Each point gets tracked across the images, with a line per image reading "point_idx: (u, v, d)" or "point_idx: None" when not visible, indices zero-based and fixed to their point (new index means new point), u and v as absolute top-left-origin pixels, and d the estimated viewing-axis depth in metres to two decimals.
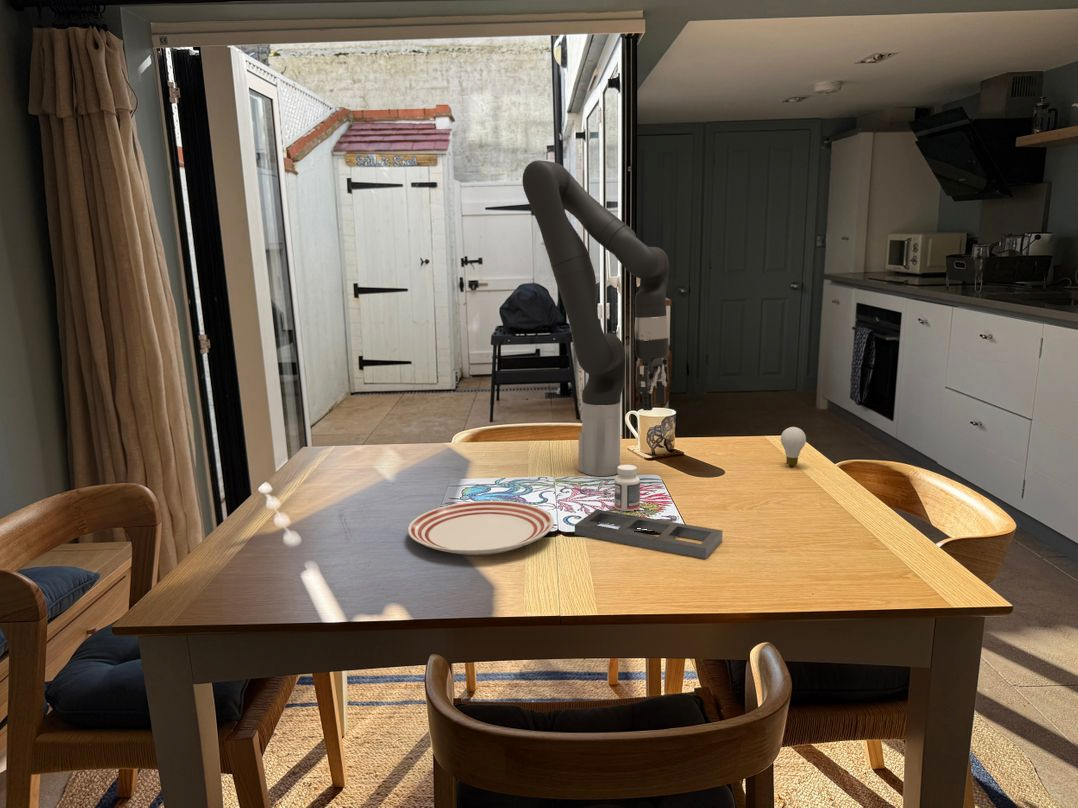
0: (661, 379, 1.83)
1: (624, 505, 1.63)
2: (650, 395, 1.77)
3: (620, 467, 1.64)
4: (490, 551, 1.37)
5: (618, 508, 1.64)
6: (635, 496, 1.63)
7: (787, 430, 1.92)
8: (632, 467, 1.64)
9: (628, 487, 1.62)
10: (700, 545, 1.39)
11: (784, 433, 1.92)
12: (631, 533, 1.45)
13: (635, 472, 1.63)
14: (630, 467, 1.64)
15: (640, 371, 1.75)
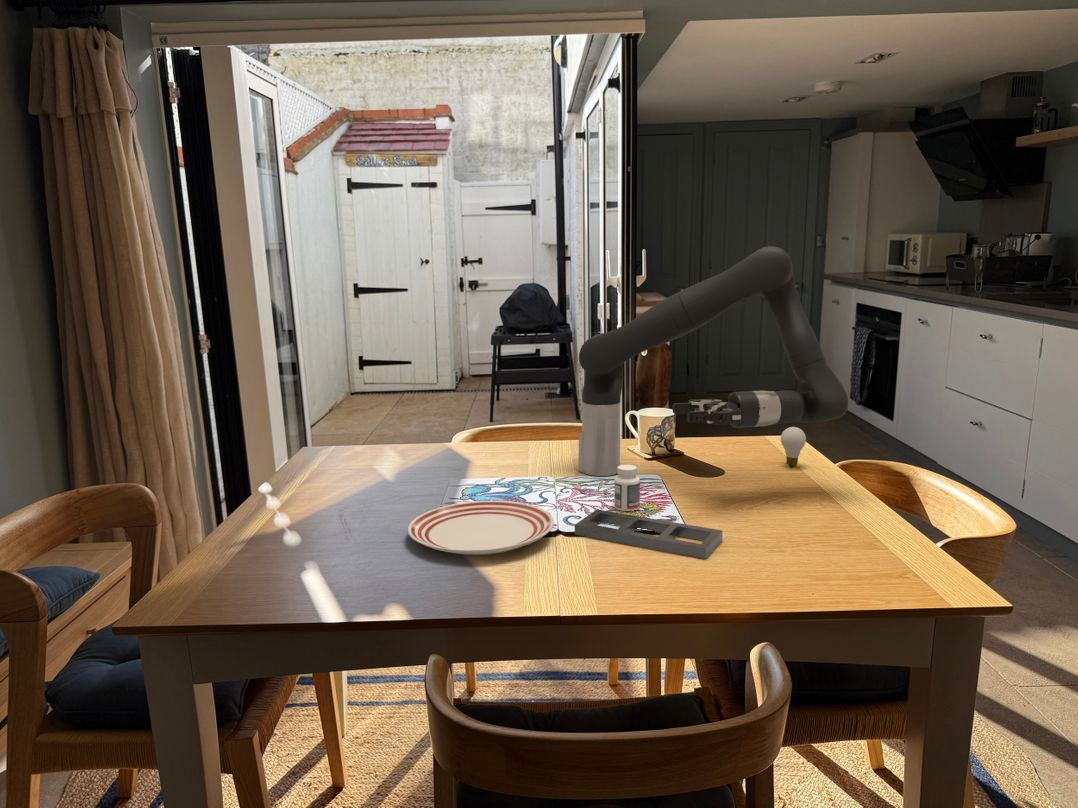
0: None
1: (624, 505, 1.63)
2: (704, 421, 1.60)
3: (620, 467, 1.64)
4: (490, 551, 1.37)
5: (618, 508, 1.64)
6: (635, 496, 1.63)
7: (787, 430, 1.92)
8: (632, 467, 1.64)
9: (628, 487, 1.62)
10: (700, 545, 1.39)
11: (784, 433, 1.92)
12: (631, 533, 1.45)
13: (635, 472, 1.63)
14: (630, 467, 1.64)
15: (736, 416, 1.59)
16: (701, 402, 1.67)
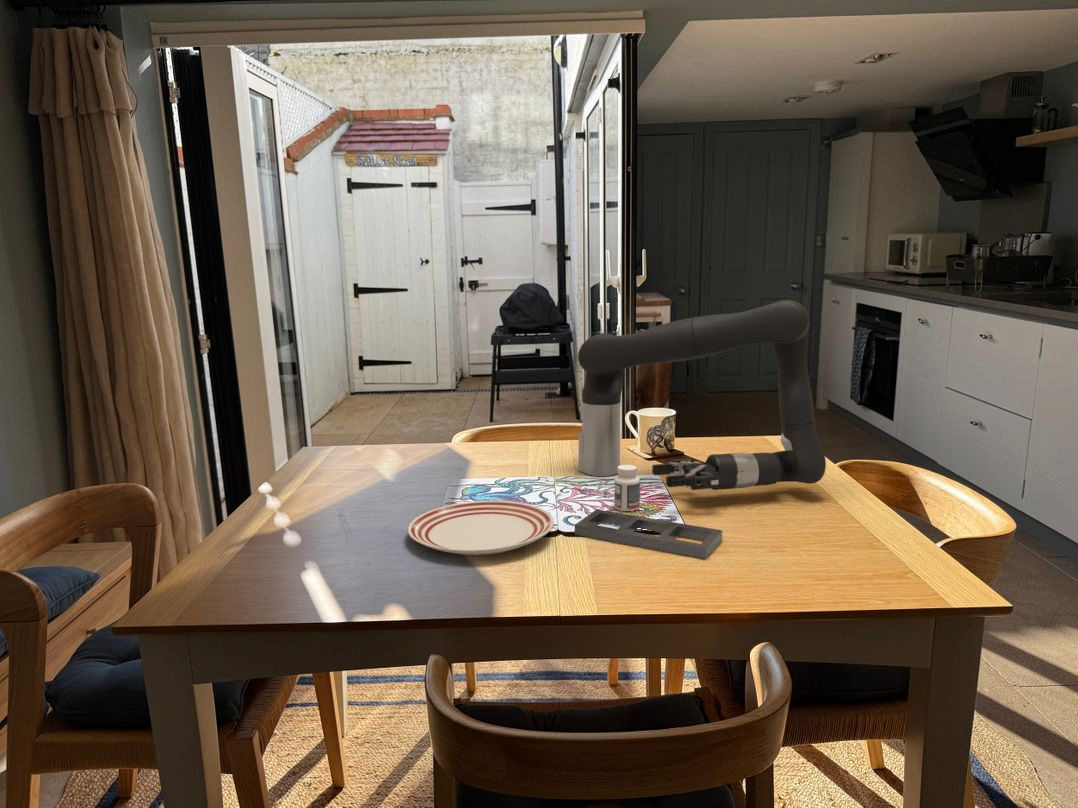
0: (681, 474, 1.70)
1: (624, 505, 1.63)
2: (682, 485, 1.62)
3: (620, 467, 1.64)
4: (490, 551, 1.37)
5: (618, 508, 1.64)
6: (635, 496, 1.63)
7: None
8: (632, 467, 1.64)
9: (628, 487, 1.62)
10: (700, 545, 1.39)
11: None
12: (631, 533, 1.45)
13: (635, 472, 1.63)
14: (630, 467, 1.64)
15: (714, 481, 1.61)
16: (680, 463, 1.69)
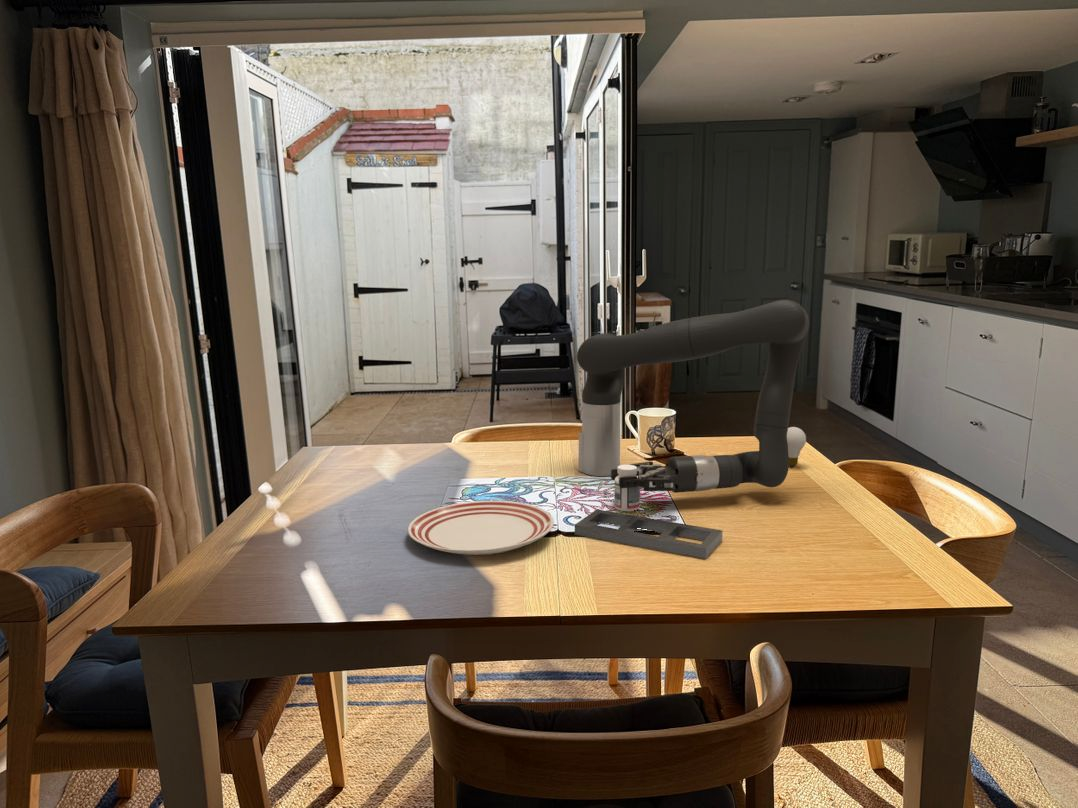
0: None
1: (624, 504, 1.63)
2: None
3: (620, 467, 1.64)
4: (490, 551, 1.37)
5: (618, 508, 1.64)
6: (635, 496, 1.63)
7: None
8: (632, 466, 1.64)
9: None
10: (700, 545, 1.39)
11: None
12: (631, 533, 1.45)
13: (635, 472, 1.63)
14: (630, 467, 1.64)
15: (667, 483, 1.59)
16: (640, 467, 1.67)
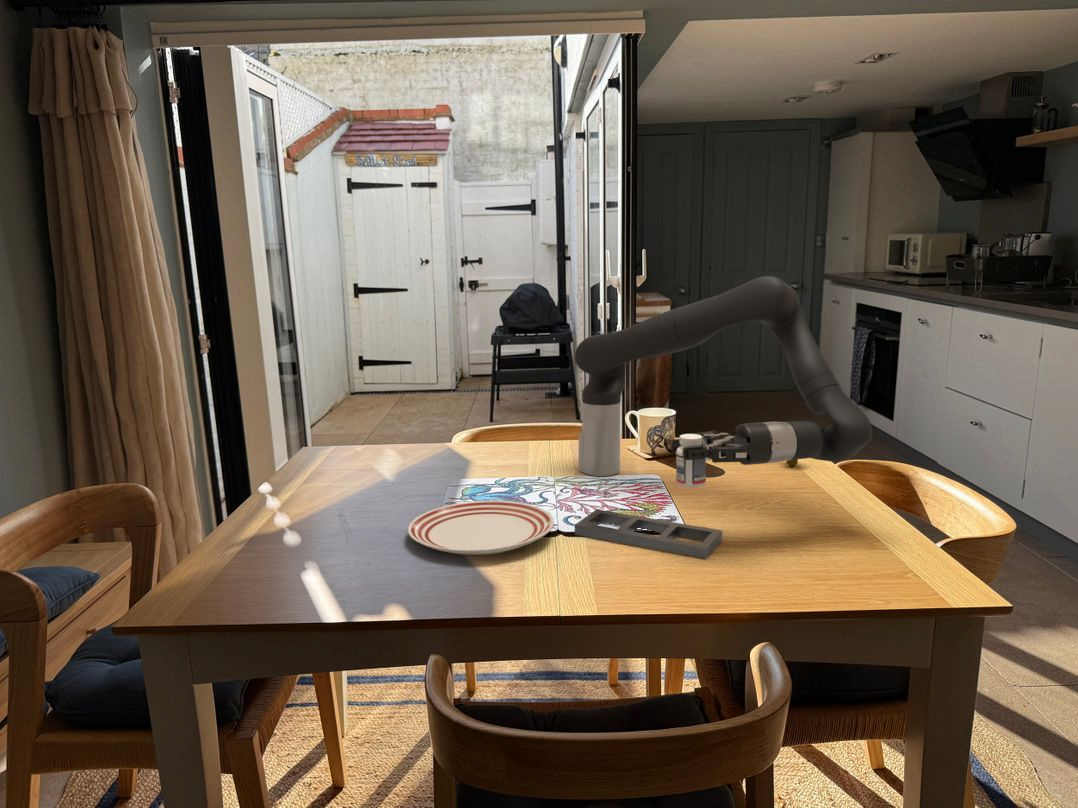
0: None
1: (689, 479, 1.41)
2: (702, 457, 1.40)
3: (683, 436, 1.42)
4: (490, 551, 1.37)
5: (681, 484, 1.42)
6: (701, 469, 1.41)
7: None
8: (697, 436, 1.42)
9: None
10: (700, 545, 1.39)
11: None
12: (631, 533, 1.45)
13: (701, 442, 1.41)
14: (694, 436, 1.42)
15: (740, 453, 1.37)
16: (705, 437, 1.45)
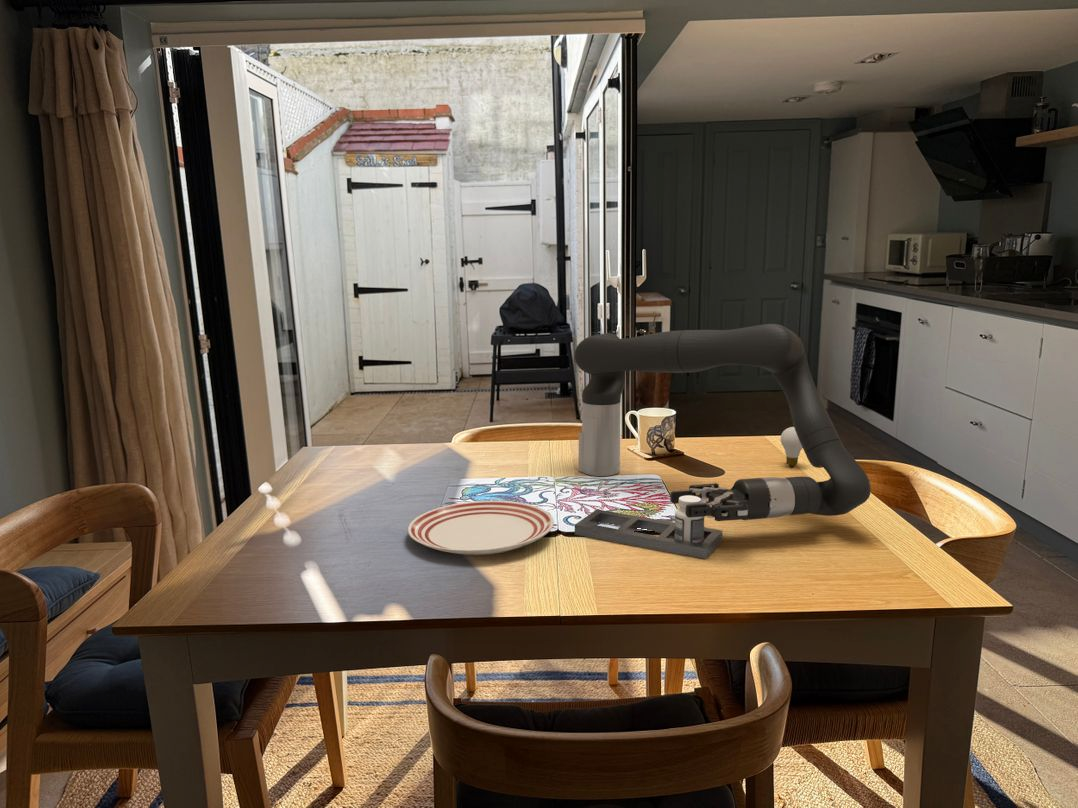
0: (704, 502, 1.47)
1: None
2: None
3: (682, 499, 1.43)
4: (490, 551, 1.37)
5: None
6: (699, 532, 1.42)
7: (787, 430, 1.92)
8: (696, 498, 1.43)
9: (691, 522, 1.42)
10: (700, 545, 1.39)
11: (784, 433, 1.92)
12: (631, 533, 1.45)
13: None
14: (693, 499, 1.43)
15: (742, 511, 1.38)
16: (703, 490, 1.46)
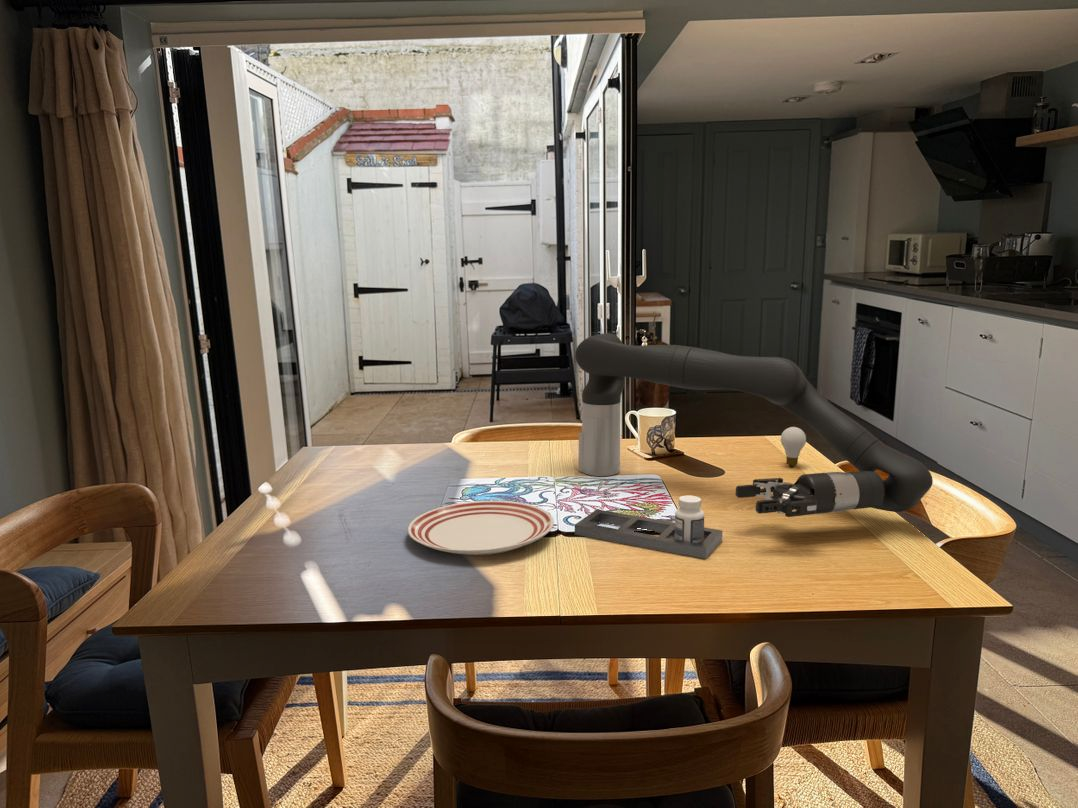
0: (768, 496, 1.50)
1: None
2: None
3: (682, 499, 1.43)
4: (490, 551, 1.37)
5: None
6: (699, 532, 1.42)
7: (787, 430, 1.92)
8: (696, 498, 1.43)
9: (691, 522, 1.42)
10: (700, 545, 1.39)
11: (784, 433, 1.92)
12: (631, 533, 1.45)
13: (699, 505, 1.42)
14: (693, 499, 1.43)
15: (811, 506, 1.40)
16: (768, 485, 1.49)
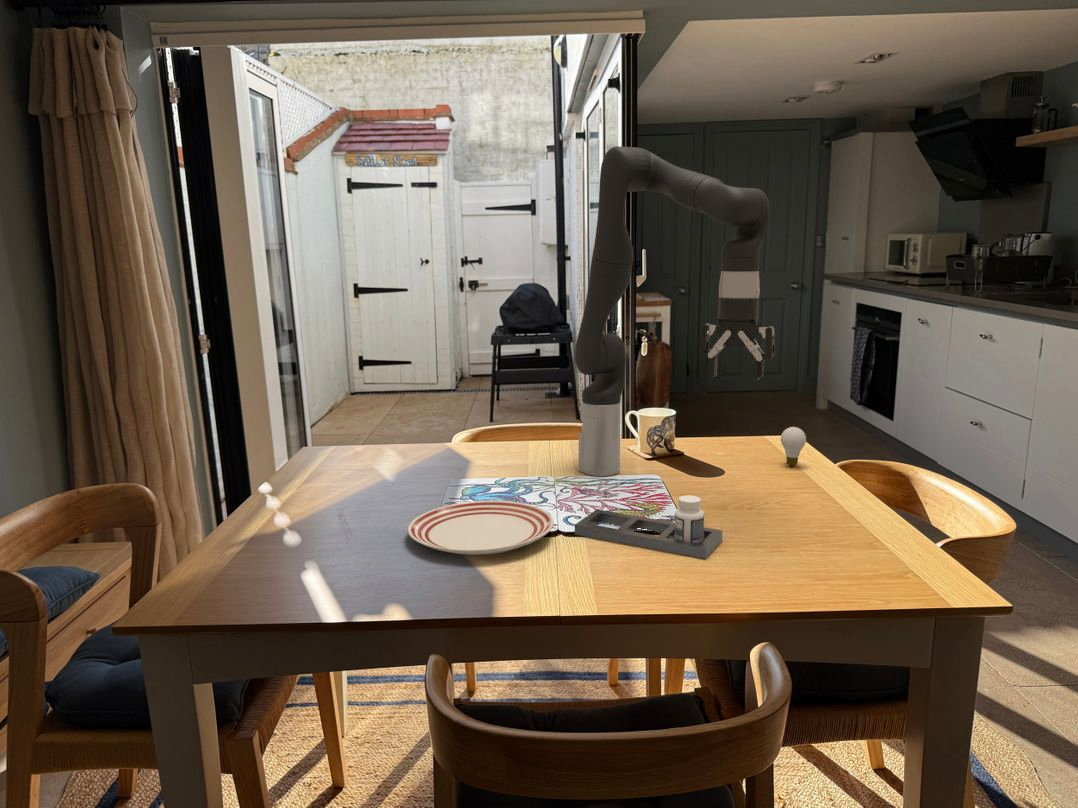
0: (723, 346, 1.56)
1: None
2: None
3: (682, 499, 1.43)
4: (490, 551, 1.37)
5: None
6: (699, 532, 1.42)
7: (787, 430, 1.92)
8: (695, 498, 1.43)
9: (691, 522, 1.42)
10: (700, 545, 1.39)
11: (784, 433, 1.92)
12: (631, 533, 1.45)
13: (699, 505, 1.42)
14: (693, 499, 1.43)
15: (772, 333, 1.50)
16: (719, 348, 1.55)
